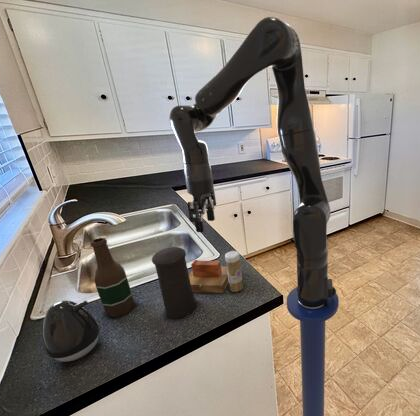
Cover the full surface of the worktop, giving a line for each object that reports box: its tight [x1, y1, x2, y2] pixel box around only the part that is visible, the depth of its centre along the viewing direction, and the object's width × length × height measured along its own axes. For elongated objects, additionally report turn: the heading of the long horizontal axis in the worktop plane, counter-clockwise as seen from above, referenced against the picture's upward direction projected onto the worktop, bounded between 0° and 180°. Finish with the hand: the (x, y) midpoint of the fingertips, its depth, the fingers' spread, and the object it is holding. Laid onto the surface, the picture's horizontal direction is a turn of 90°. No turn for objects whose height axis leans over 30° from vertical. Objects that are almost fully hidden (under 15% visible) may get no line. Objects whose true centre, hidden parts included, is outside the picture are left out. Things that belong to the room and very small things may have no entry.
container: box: [151, 246, 196, 319], centre depth 79 cm, size 9×9×20 cm
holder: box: [190, 259, 222, 277], centre depth 92 cm, size 9×3×5 cm, turn 87°
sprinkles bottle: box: [224, 250, 244, 293], centre depth 89 cm, size 5×5×14 cm
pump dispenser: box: [42, 299, 101, 363], centre depth 66 cm, size 10×10×15 cm
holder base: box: [188, 265, 229, 294], centre depth 94 cm, size 14×13×3 cm
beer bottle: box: [90, 237, 135, 318], centre depth 78 cm, size 8×8×24 cm
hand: (206, 225), depth 86 cm, fingers open, 8 cm apart
